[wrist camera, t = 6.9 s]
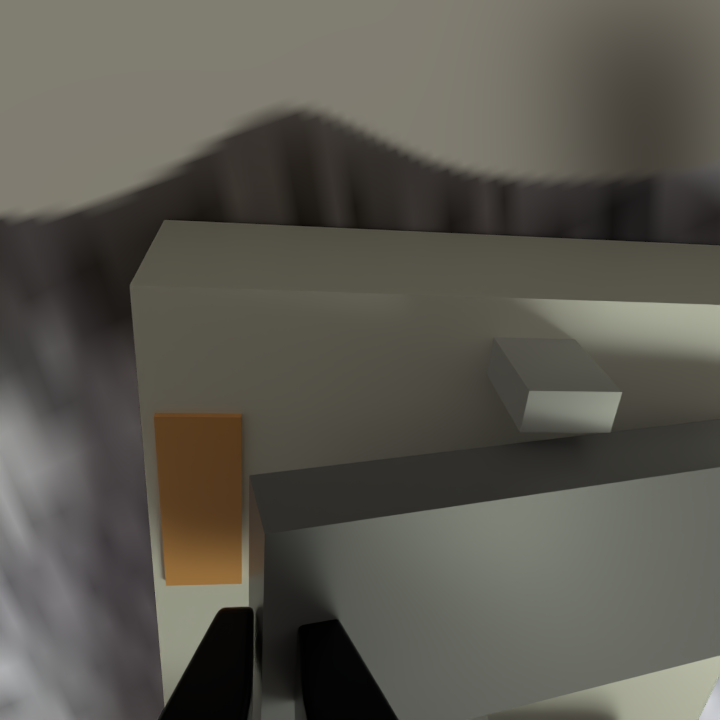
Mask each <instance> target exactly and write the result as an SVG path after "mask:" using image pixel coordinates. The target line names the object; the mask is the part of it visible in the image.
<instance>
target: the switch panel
mask: <svg viewBox="0 0 720 720" xmlns="http://www.w3.org/2000/svg"><path fill="white" fill-rule="evenodd" d="M130 297H131V309H132V321H133V333H134V345H135V357H136V369H137V382H138V394H139V406H140V418H141V430H142V442H143V454H144V466H145V478H146V490H147V502H148V514H149V526H150V538H151V550H152V562H153V574H154V586H155V598H156V610H157V622H158V634H159V646H160V658H161V670H162V682H163V694H164V706H166V704H167V702H168V700H169V698H170V697H171V695H172V693H173V691H174V689H175V688H176V686H177V684H178V682H179V680H180V678H181V677H182V675H183V673H184V671H185V669H186V668H187V666H188V664H189V662H190V660H191V659H192V657H193V655H194V653H195V651H196V650H197V648H198V646H199V644H200V642H201V640H202V639H203V637H204V635H205V633H206V631H207V630H208V628H209V626H210V624H211V622H212V621H213V619H214V617H215V615H216V614H217V612H218V611H219V610H220V609H222V608H225V607H249V475H256V474H264V473H272V472H281V471H289V470H297V469H306V468H314V467H322V466H331V465H339V464H347V463H356V462H364V461H372V460H381V459H389V458H397V457H406V456H414V455H422V454H430V453H439V452H447V451H455V450H464V449H472V448H480V447H489V446H497V445H505V444H514V443H522V442H530V441H539V440H547V439H555V438H564V437H572V436H580V435H589V434H597V433H610V432H614V431H622V430H630V429H639V428H647V427H655V426H664V425H672V424H680V423H689V422H697V421H705V420H714V419H720V245H701V244H679V243H658V242H636V241H614V240H592V239H571V238H549V237H527V236H505V235H484V234H462V233H440V232H419V231H397V230H375V229H353V228H332V227H310V226H288V225H266V224H245V223H223V222H201V221H179V220H164V221H163V223H162V225H161V227H160V229H159V231H158V233H157V234H156V236H155V238H154V240H153V242H152V244H151V246H150V248H149V250H148V251H147V253H146V255H145V257H144V259H143V261H142V263H141V265H140V267H139V268H138V270H137V272H136V274H135V276H134V278H133V280H132V282H131V284H130ZM719 676H720V656H716V657H712V658H708V659H704V660H700V661H697V662H693V663H689V664H685V665H681V666H677V667H673V668H669V669H665V670H661V671H657V672H653V673H649V674H645V675H641V676H637V677H633V678H630V679H626V680H622V681H618V682H614V683H610V684H606V685H602V686H598V687H594V688H590V689H586V690H582V691H578V692H574V693H570V694H567V695H563V696H559V697H555V698H551V699H547V700H543V701H539V702H535V703H531V704H527V705H523V706H519V707H515V708H511V709H507V710H503V711H500V712H496V713H492V714H488V715H484V716H480V717H476V718H472V719H468V720H698V719H699V717H700V715H701V713H702V711H703V709H704V707H705V705H706V703H707V701H708V699H709V697H710V694H711V692H712V690H713V688H714V686H715V684H716V682H717V680H718V678H719Z"/></svg>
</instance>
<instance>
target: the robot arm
mask: <svg viewBox="0 0 720 720" xmlns="http://www.w3.org/2000/svg"><path fill="white" fill-rule="evenodd" d="M253 664H254V611H253V609H252V608H251V607H225V608H222V609H220V610H219V611H218V612H217V614H216V615H215V617H214V619H213V621H212V622H211V624H210V626H209V628H208V630H207V631H206V633H205V635H204V637H203V639H202V640H201V642H200V644H199V646H198V648H197V650H196V651H195V653H194V655H193V657H192V659H191V660H190V662H189V664H188V666H187V668H186V669H185V671H184V673H183V675H182V677H181V678H180V680H179V682H178V684H177V686H176V688H175V689H174V691H173V693H172V695H171V697H170V698H169V700H168V702H167V704H166V706H165V707H164V709H163V711H162V713H161V715H160V716H159V718H158V720H252V713H253ZM294 706H295V720H399V719H398V717H397V716H396V714H395V712H394V711H393V709H392V707H391V705H390V704H389V702H388V700H387V699H386V697H385V695H384V694H383V692H382V690H381V689H380V687H379V685H378V684H377V682H376V680H375V679H374V677H373V675H372V674H371V672H370V670H369V669H368V667H367V665H366V664H365V662H364V660H363V659H362V657H361V655H360V654H359V652H358V650H357V649H356V647H355V645H354V644H353V642H352V640H351V639H350V637H349V635H348V634H347V632H346V630H345V629H344V627H343V625H342V623H341V622H340V621H339V620H338V619H334V620H328V621H322V622H316V623H310V624H305V625H302V626H300V627H299V628H298V635H297V655H296V675H295V695H294Z"/></svg>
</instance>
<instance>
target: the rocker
mask: <svg viewBox="0 0 720 720" xmlns="http://www.w3.org/2000/svg"><path fill="white" fill-rule="evenodd" d="M249 607H251V608H252V609H253V611H254V664H253V713H252V720H295V706H294V695H295V675H296V655H297V635H298V628H299V627H300V626H302V625H305V624H310V623H316V622H322V621H328V620H334V619H338V620H339V621H340V622H341V623H342V625H343V627H344V629H345V630H346V632H347V634H348V635H349V637H350V639H351V640H352V642H353V644H354V645H355V647H356V649H357V650H358V652H359V654H360V655H361V657H362V659H363V660H364V662H365V664H366V665H367V667H368V669H369V670H370V672H371V674H372V675H373V677H374V679H375V680H376V682H377V684H378V685H379V687H380V689H381V690H382V692H383V694H384V695H385V697H386V699H387V700H388V702H389V704H390V705H391V707H392V709H393V711H394V712H395V714H396V716H397V717H398V719H399V720H468V719H472V718H476V717H480V716H484V715H488V714H492V713H496V712H500V711H503V710H507V709H511V708H515V707H519V706H523V705H527V704H531V703H535V702H539V701H543V700H547V699H551V698H555V697H559V696H563V695H567V694H570V693H574V692H578V691H582V690H586V689H590V688H594V687H598V686H602V685H606V684H610V683H614V682H618V681H622V680H626V679H630V678H633V677H637V676H641V675H645V674H649V673H653V672H657V671H661V670H665V669H669V668H673V667H677V666H681V665H685V664H689V663H693V662H697V661H700V660H704V659H708V658H712V657H716V656H720V419H714V420H705V421H697V422H689V423H680V424H672V425H664V426H655V427H647V428H639V429H630V430H622V431H614V432H610V433H597V434H589V435H580V436H572V437H564V438H555V439H547V440H539V441H530V442H522V443H514V444H505V445H497V446H489V447H480V448H472V449H464V450H455V451H447V452H439V453H430V454H422V455H414V456H406V457H397V458H389V459H381V460H372V461H364V462H356V463H347V464H339V465H331V466H322V467H314V468H306V469H297V470H289V471H281V472H272V473H264V474H256V475H249Z"/></svg>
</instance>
